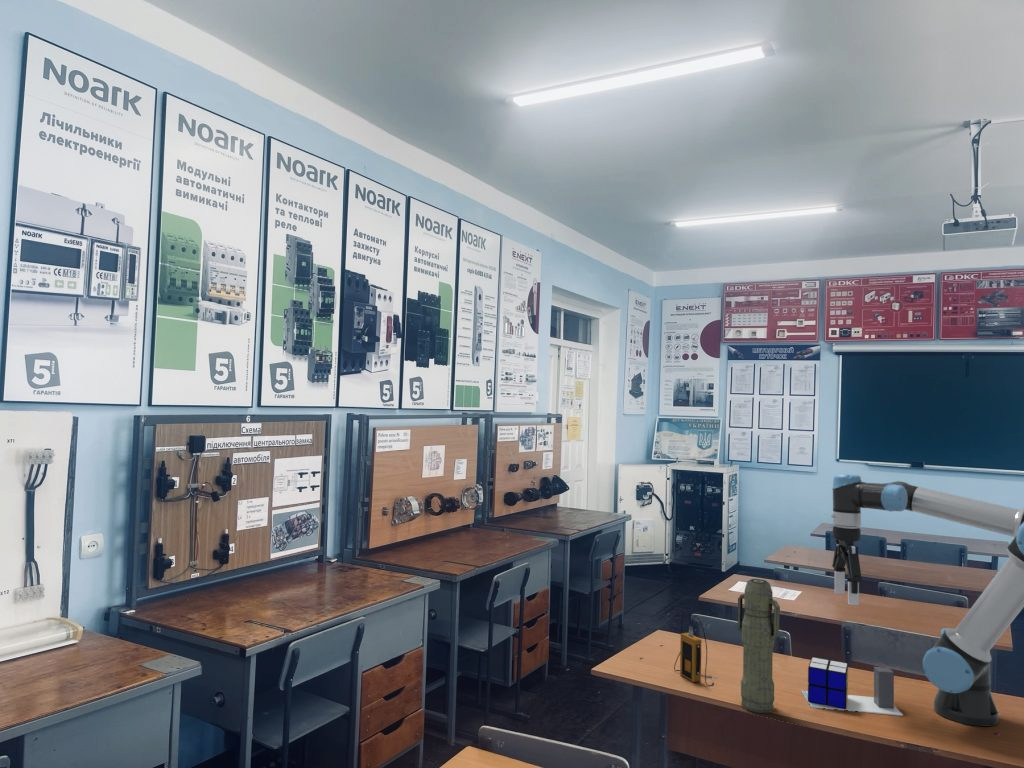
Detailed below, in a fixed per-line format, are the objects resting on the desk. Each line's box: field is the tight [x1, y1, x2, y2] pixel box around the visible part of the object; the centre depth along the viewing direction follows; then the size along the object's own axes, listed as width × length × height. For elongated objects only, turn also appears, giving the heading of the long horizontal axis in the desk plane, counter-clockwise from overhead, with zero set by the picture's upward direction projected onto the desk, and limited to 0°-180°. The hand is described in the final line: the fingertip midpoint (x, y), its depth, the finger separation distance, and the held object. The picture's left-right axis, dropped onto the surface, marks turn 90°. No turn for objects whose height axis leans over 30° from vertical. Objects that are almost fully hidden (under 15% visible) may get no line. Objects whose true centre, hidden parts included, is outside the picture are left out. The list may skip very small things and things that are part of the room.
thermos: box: [737, 578, 781, 714], centre depth 200 cm, size 9×12×35 cm
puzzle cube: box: [807, 657, 849, 709], centre depth 204 cm, size 10×10×10 cm
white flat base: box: [801, 666, 904, 717], centre depth 203 cm, size 24×12×10 cm, turn 80°
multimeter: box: [673, 611, 718, 687], centre depth 221 cm, size 15×10×20 cm
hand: (846, 598), depth 209 cm, fingers open, 13 cm apart
